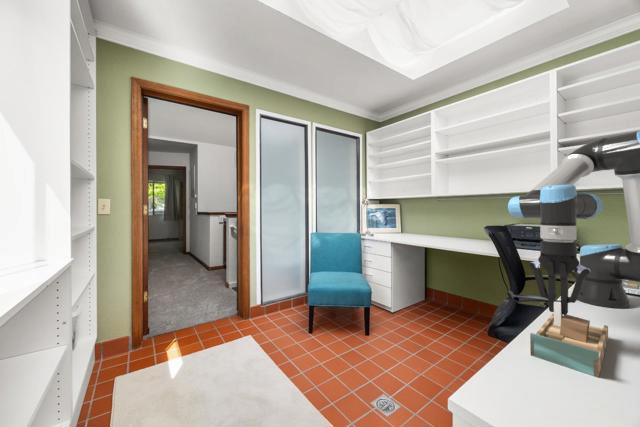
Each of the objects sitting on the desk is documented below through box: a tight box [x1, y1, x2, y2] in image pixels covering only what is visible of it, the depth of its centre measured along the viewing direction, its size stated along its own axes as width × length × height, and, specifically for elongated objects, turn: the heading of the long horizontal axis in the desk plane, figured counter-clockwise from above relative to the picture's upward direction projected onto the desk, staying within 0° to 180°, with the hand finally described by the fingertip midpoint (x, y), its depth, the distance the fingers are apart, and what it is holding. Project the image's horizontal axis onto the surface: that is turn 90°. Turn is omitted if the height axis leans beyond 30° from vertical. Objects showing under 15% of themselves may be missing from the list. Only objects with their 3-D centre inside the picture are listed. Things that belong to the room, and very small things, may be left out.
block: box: [560, 314, 591, 343], centre depth 71 cm, size 5×5×4 cm
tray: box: [529, 313, 609, 378], centre depth 71 cm, size 27×12×6 cm, turn 129°
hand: (558, 324), depth 74 cm, fingers closed
